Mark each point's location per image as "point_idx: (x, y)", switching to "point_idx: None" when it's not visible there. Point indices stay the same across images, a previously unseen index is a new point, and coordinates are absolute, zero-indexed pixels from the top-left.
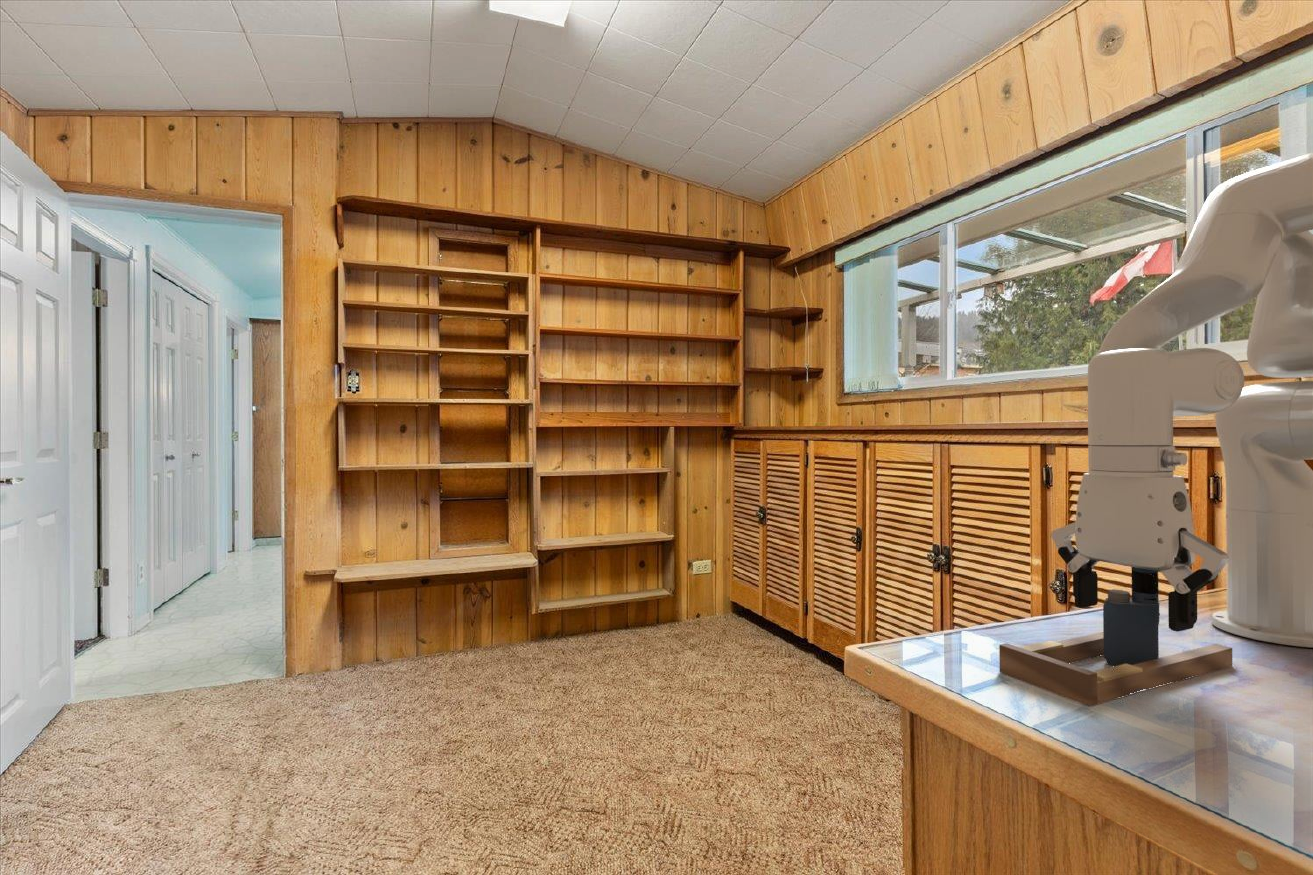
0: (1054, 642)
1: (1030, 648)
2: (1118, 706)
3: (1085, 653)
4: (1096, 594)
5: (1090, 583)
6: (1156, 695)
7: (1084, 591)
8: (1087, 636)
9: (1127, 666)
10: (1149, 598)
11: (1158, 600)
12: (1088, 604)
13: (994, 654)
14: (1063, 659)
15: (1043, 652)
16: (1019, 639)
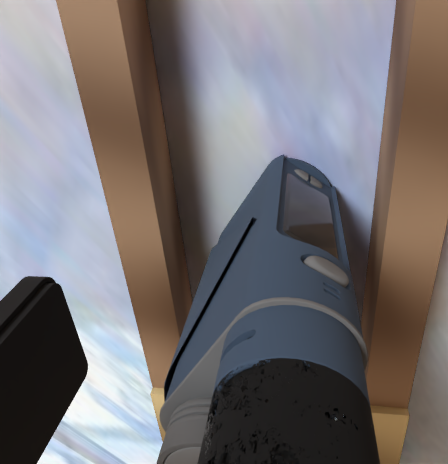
0: None
1: None
2: (405, 451)
3: (185, 293)
4: (31, 323)
5: (5, 417)
6: (426, 360)
7: (45, 415)
8: (130, 261)
9: (379, 428)
10: (343, 423)
11: (360, 355)
12: (72, 337)
13: (99, 398)
14: None
15: None
16: (6, 277)
